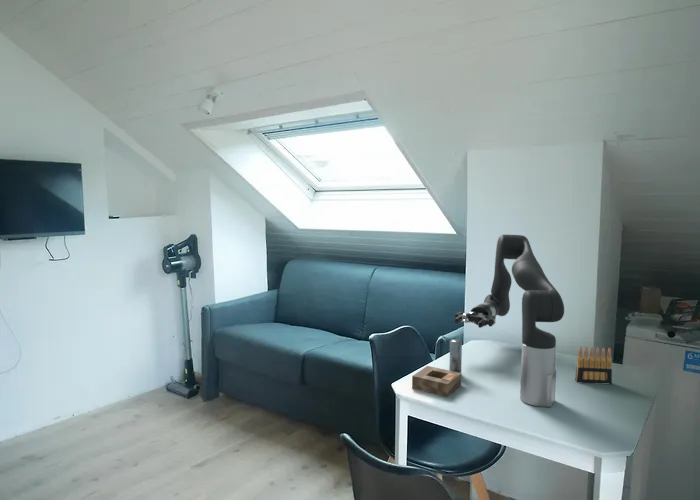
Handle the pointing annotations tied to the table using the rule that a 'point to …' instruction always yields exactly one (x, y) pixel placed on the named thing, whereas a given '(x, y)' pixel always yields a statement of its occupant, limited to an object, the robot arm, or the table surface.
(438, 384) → the block
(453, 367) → the barrel peg
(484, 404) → the table surface
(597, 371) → the ammunition clip
